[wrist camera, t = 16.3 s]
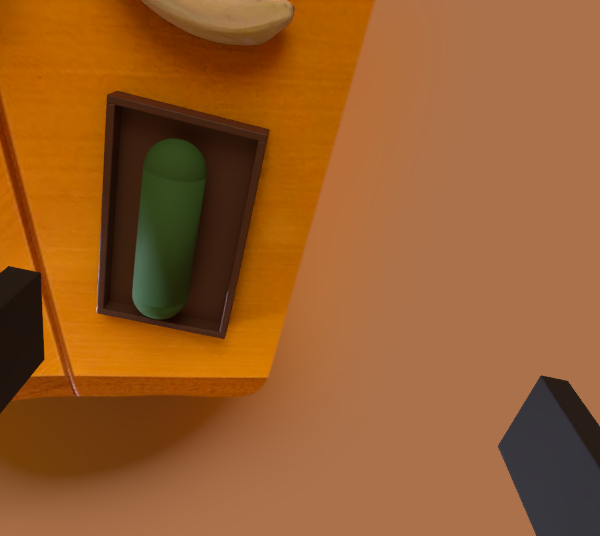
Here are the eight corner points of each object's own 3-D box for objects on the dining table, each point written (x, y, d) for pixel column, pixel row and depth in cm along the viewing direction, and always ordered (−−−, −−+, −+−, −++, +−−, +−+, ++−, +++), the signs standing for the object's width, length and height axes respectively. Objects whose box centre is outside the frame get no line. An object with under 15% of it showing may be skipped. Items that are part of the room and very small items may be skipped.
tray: (116, 90, 35) (106, 94, 33) (269, 129, 36) (267, 134, 34) (104, 301, 43) (96, 313, 42) (227, 326, 45) (224, 339, 43)
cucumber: (159, 125, 36) (135, 138, 31) (217, 141, 36) (201, 155, 32) (142, 294, 43) (121, 322, 39) (191, 306, 43) (175, 335, 39)
